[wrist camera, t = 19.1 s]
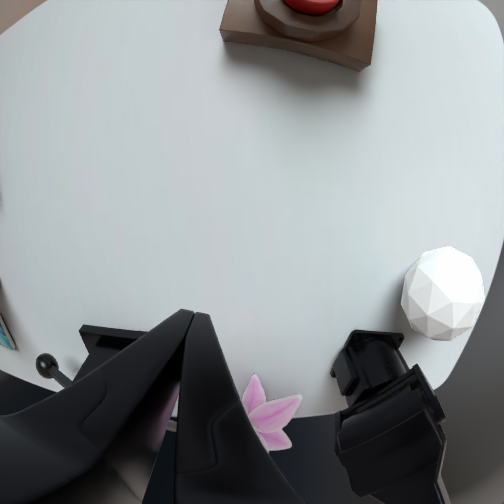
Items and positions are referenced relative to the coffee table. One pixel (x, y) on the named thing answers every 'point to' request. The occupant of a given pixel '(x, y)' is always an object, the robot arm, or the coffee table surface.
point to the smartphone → (5, 336)
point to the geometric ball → (442, 294)
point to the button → (312, 6)
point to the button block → (305, 29)
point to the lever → (51, 369)
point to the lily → (269, 415)
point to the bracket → (103, 345)
